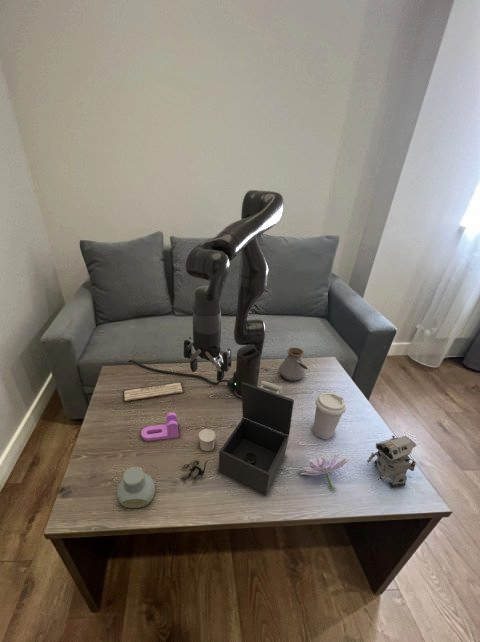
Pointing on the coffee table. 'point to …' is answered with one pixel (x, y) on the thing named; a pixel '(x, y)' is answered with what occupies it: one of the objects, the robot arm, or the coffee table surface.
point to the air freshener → (135, 488)
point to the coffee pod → (207, 439)
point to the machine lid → (267, 406)
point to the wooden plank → (152, 391)
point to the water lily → (324, 467)
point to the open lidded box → (258, 442)
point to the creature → (194, 469)
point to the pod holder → (250, 458)
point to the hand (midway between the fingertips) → (206, 375)
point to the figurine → (394, 459)
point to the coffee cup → (328, 414)
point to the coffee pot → (293, 365)
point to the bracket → (162, 429)
